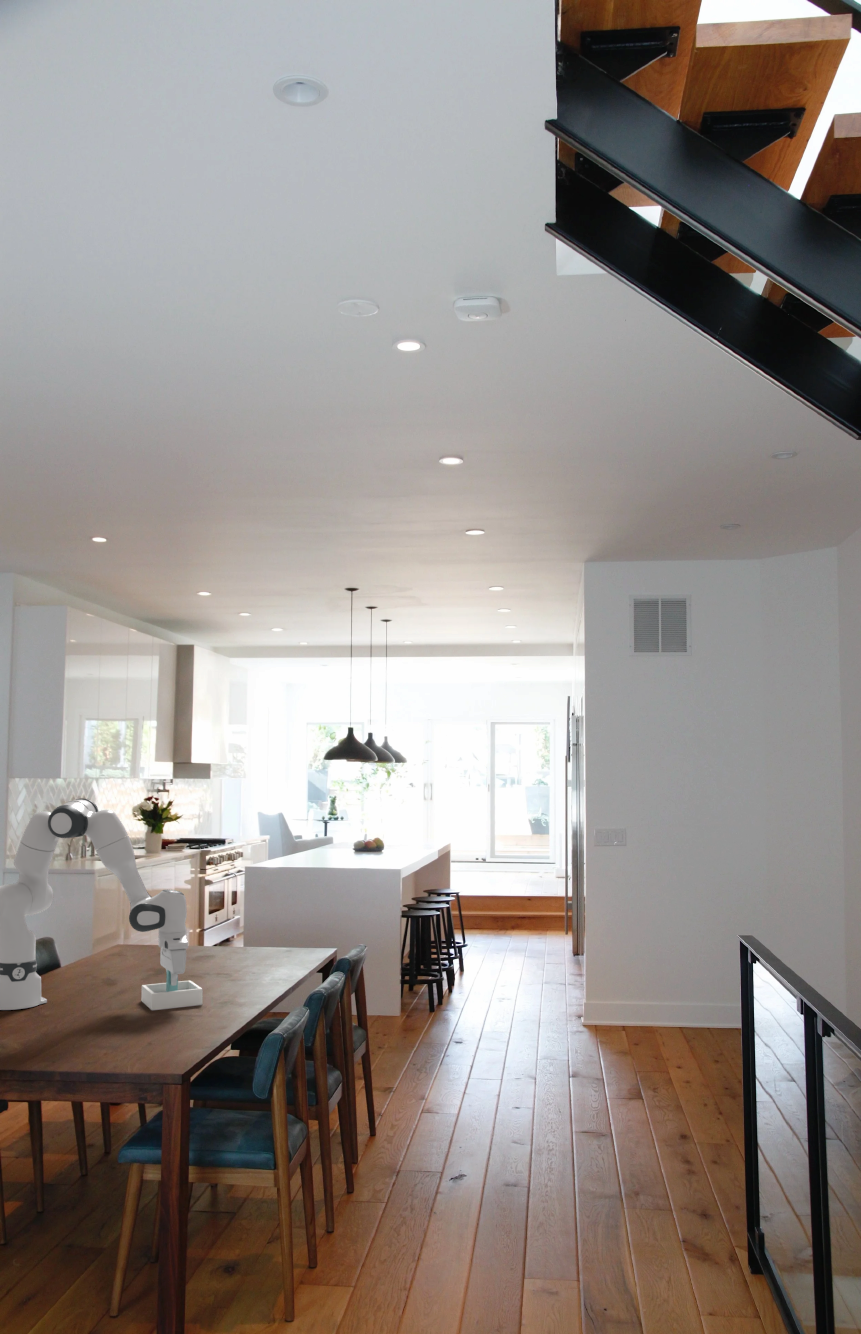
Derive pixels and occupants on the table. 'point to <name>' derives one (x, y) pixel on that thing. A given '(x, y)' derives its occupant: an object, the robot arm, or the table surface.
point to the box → (172, 995)
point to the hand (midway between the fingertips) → (171, 984)
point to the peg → (168, 985)
